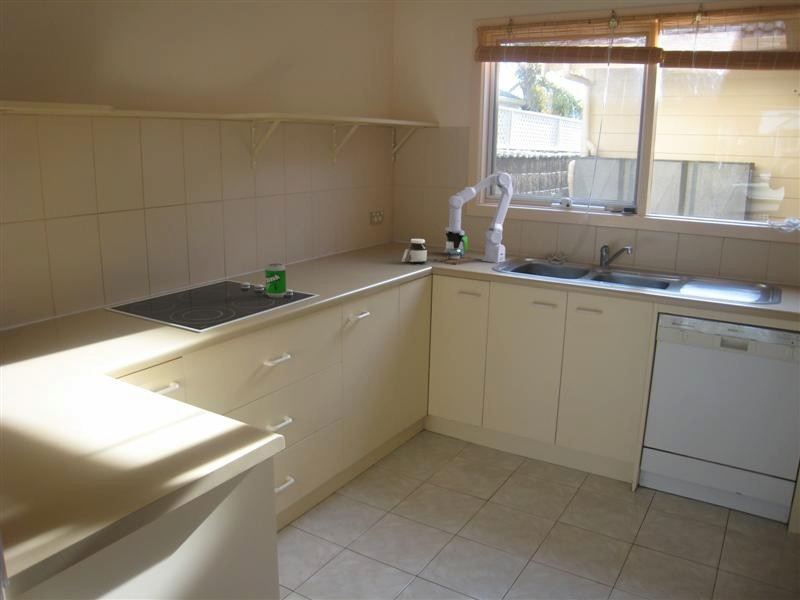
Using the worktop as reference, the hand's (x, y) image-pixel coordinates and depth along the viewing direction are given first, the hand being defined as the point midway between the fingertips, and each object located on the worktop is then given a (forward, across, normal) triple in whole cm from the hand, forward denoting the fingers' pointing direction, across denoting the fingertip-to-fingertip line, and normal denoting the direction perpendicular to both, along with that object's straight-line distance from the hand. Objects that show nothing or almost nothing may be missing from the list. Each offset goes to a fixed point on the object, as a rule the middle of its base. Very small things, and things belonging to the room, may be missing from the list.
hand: (454, 247), depth 343 cm
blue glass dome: (+3, 0, 0) cm, 3 cm away
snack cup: (+7, -16, +12) cm, 21 cm away
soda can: (+7, +38, -104) cm, 111 cm away
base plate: (+7, 0, 0) cm, 7 cm away
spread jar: (+7, -3, -21) cm, 23 cm away
